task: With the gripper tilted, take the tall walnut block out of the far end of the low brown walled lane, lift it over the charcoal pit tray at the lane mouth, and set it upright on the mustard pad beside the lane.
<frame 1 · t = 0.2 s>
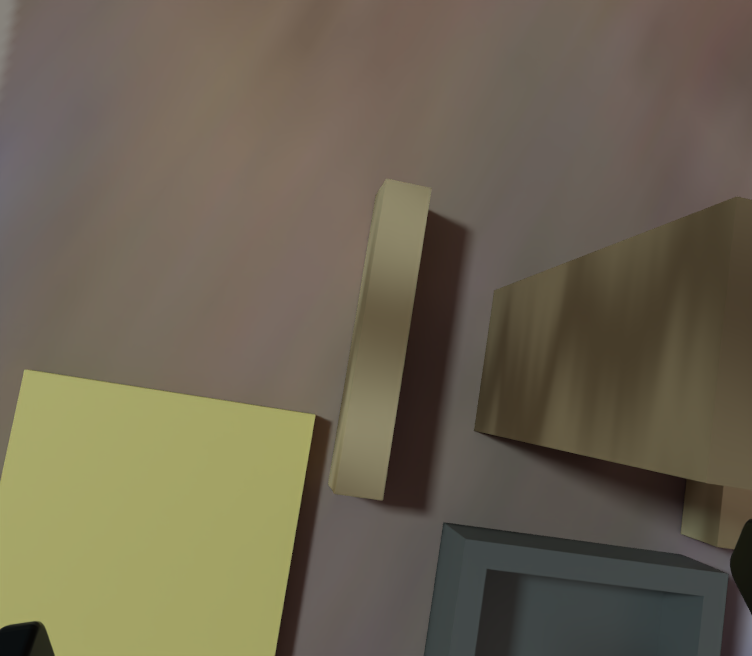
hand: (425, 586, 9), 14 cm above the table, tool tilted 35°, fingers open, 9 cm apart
brown lane walls: (551, 371, 24), on the table
walnut block: (550, 371, 24), on the table
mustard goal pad: (150, 533, 22), on the table
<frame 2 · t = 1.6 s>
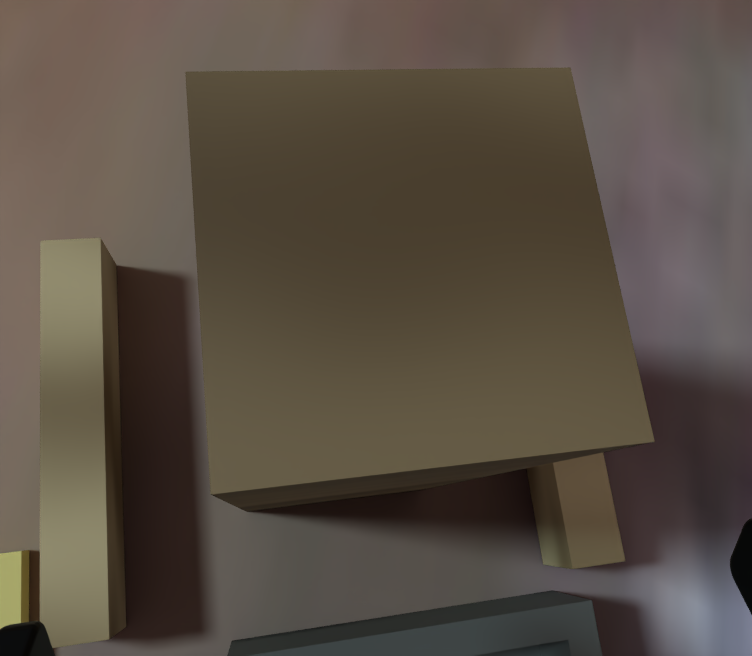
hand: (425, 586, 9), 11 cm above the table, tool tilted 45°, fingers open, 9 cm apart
brown lane walls: (327, 412, 20), on the table
walnut block: (327, 412, 20), on the table
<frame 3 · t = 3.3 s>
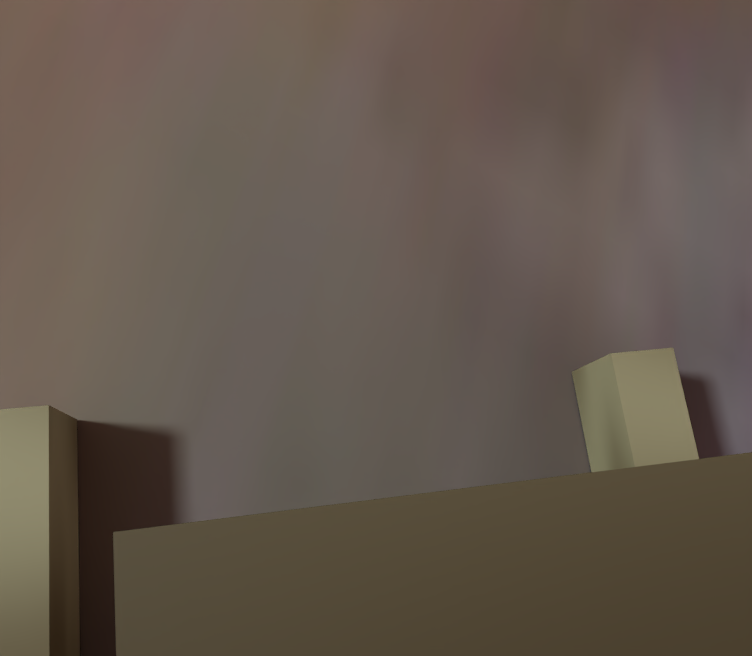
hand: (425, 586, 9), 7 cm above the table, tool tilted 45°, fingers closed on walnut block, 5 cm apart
brown lane walls: (365, 625, 15), on the table
walnut block: (365, 624, 15), on the table, touching gripper
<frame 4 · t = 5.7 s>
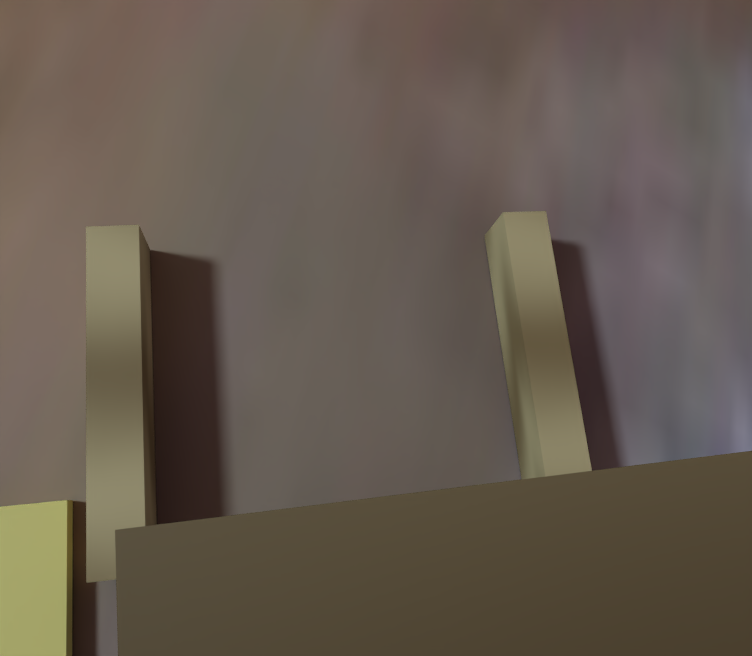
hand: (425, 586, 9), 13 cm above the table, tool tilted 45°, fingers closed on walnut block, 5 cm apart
brown lane walls: (337, 386, 22), on the table
walnut block: (366, 624, 15), point 6 cm above the table, touching gripper
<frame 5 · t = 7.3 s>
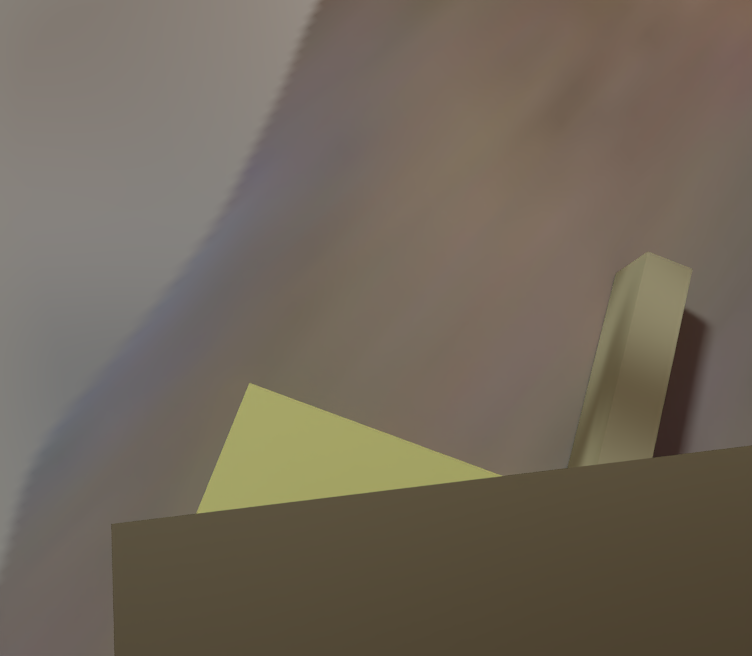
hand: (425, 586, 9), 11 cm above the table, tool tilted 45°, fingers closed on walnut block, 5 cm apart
walnut block: (365, 623, 15), point 5 cm above the table, touching gripper
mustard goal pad: (342, 593, 19), on the table
when the fingers open (8 cm above the table, at t = 8.3 s): walnut block stays where it is, resting on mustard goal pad.
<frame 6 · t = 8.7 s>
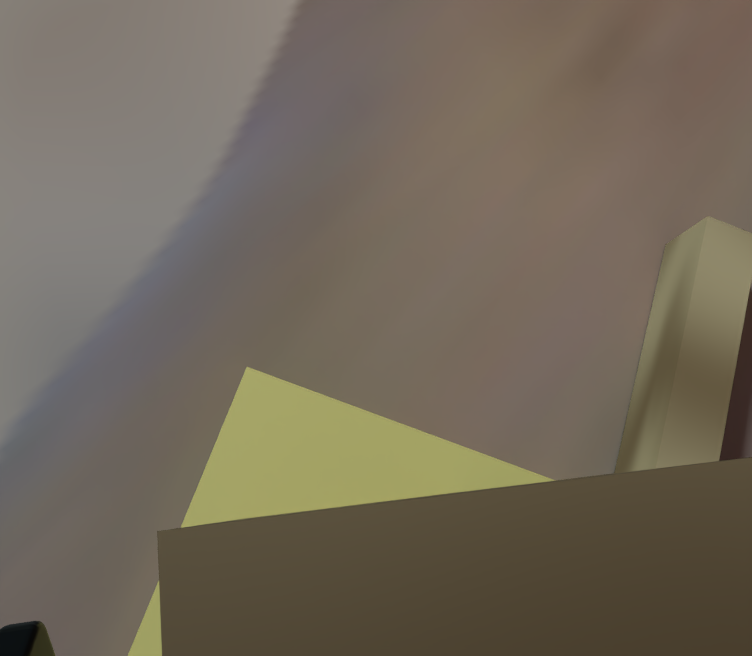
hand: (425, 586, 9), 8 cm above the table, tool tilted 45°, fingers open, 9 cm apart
walnut block: (361, 618, 15), point 1 cm above the table, touching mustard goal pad
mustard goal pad: (356, 614, 16), on the table
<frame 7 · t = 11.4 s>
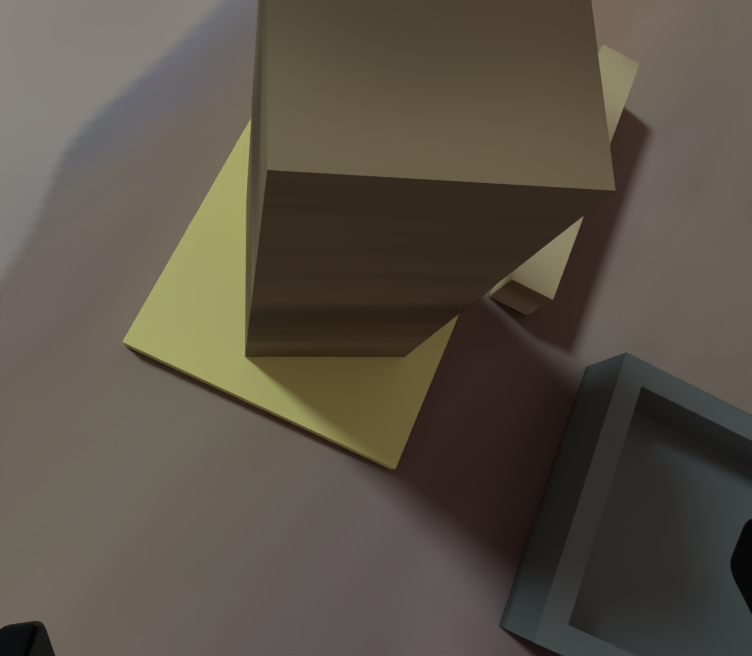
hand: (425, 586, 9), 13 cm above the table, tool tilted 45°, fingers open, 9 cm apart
brown lane walls: (704, 267, 26), on the table
walnut block: (324, 280, 22), point 1 cm above the table, touching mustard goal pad
charcoal pit tray: (663, 544, 23), on the table
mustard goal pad: (321, 285, 22), on the table
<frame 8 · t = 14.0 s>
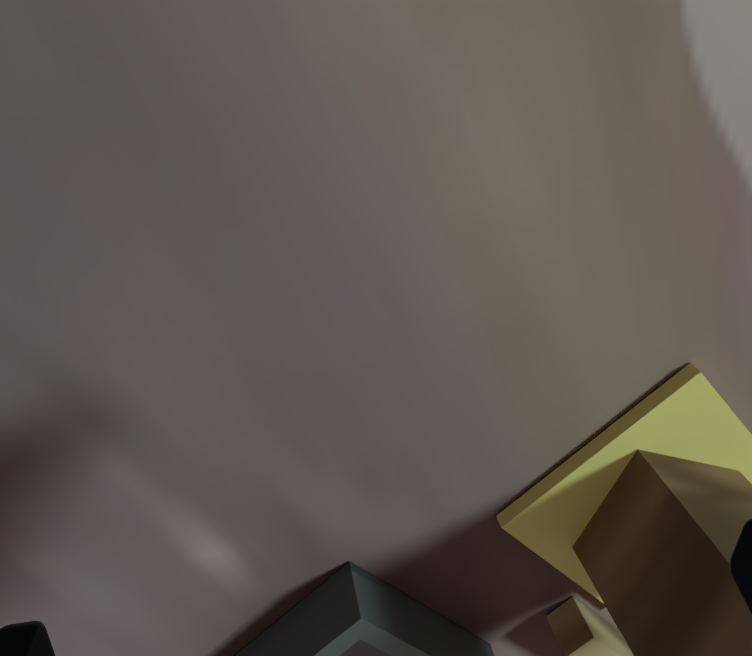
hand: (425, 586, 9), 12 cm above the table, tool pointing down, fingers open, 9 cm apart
walnut block: (654, 509, 27), point 1 cm above the table, touching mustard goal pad
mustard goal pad: (647, 497, 27), on the table
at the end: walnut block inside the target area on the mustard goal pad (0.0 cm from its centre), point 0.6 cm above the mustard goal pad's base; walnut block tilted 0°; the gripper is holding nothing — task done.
